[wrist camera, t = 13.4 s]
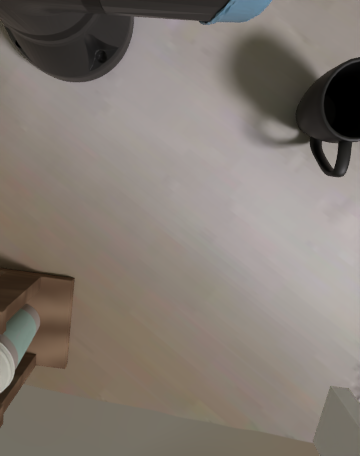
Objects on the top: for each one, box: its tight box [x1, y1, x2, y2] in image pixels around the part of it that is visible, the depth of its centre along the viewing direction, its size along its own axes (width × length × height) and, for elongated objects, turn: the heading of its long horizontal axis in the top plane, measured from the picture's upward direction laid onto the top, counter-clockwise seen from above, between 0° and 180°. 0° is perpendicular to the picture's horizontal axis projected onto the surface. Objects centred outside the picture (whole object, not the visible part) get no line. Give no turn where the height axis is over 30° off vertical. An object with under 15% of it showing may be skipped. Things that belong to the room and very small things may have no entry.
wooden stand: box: [0, 268, 74, 427], centre depth 40 cm, size 16×14×12 cm
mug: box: [296, 57, 360, 177], centre depth 35 cm, size 8×12×10 cm
